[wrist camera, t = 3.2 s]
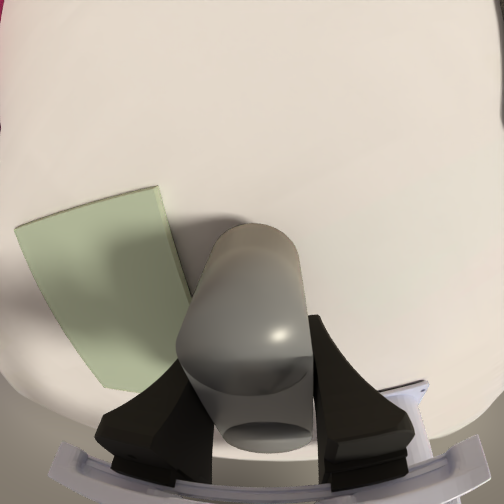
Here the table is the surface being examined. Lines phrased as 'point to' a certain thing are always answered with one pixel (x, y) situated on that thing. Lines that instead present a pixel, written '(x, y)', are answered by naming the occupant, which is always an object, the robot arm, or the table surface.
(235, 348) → the cylinder
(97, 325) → the sage mat
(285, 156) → the table surface
